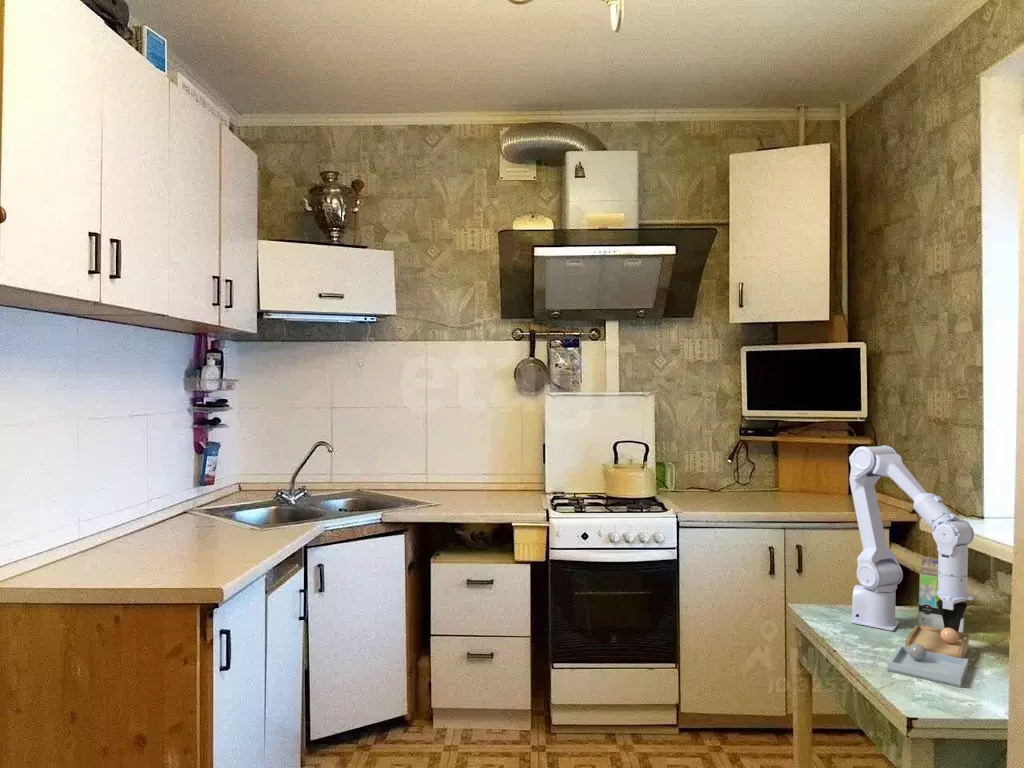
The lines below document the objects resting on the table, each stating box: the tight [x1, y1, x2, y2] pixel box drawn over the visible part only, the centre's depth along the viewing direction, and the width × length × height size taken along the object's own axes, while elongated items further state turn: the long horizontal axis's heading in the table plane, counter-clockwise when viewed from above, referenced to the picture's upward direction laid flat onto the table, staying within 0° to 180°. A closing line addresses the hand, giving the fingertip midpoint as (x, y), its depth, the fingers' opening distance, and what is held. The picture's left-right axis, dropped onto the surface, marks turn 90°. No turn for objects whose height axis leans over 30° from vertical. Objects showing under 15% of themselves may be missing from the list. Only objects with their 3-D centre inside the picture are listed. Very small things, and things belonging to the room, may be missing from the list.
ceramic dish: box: [887, 644, 969, 688], centre depth 153 cm, size 13×13×2 cm
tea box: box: [917, 556, 966, 633], centre depth 185 cm, size 15×10×15 cm, turn 148°
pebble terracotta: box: [940, 628, 958, 644], centre depth 162 cm, size 3×3×3 cm
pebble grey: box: [909, 644, 927, 661], centre depth 157 cm, size 3×3×3 cm
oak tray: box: [904, 623, 970, 659], centre depth 163 cm, size 10×14×3 cm
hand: (951, 634), depth 165 cm, fingers closed
